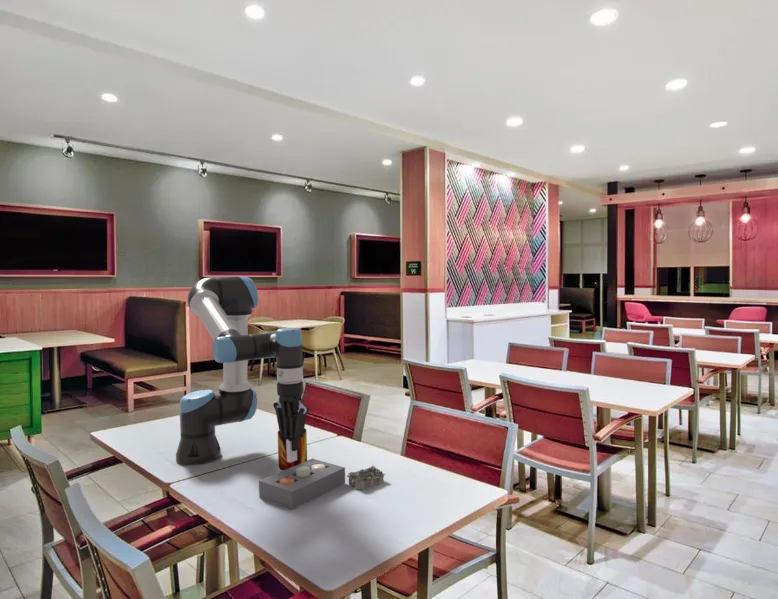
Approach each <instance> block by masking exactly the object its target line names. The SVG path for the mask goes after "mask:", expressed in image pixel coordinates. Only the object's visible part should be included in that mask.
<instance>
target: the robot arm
mask: <svg viewBox="0 0 778 599" xmlns="http://www.w3.org/2000/svg"><path fill="white" fill-rule="evenodd" d="M258 294H259V293H258V289H257V286H256V283H255V282H254V280H253V279H252V278H250V277H247V276H218V277H217V276H215V277H214V276H212V277H211V276H209V277H204V278H202V279H200V280H198V281H197V282H196V283H194V284H193V285H192V286H191V287H190V290H189V292H188V294H187V305H188V307H189V309H190V311H191V312H192V314H194V315H196V316H198V318H199V319H200V321H201V323H202V324H203V325H204V327H205V328H206V330H207V332H208V334H209V335H210V337H211V338H212V339H213V341H212V345H211V348H212V349H211V350H212V351H211V352H212V355H213V360H215V362H217V363H220V364H223V366H222V367H223V371H222V372H223V374H222V375H223V376H222V377H223V378H222V383H221V384H220V385H219V386H218V392H216V393H215V392H214V390H213V389H204V390H203V389H201V390H196V391H195V390H194V391H192V392H189V393H187V394H185V395H183V396H182V397H181V398H180V400H179V410H178V412H179V426H180V429H179V430H180V440H179V442H178V447H177V450H176V453H175V461H176V462H177V463H178V464H181V465H185V466H186V465H188V466H190V465H191V466H192V465H193V466H194V465H200V464H207V463H211V462H213V461H215V460H218V459H219V458H220V457H221V456H222V448H221V445H220V443H219V440H218V438H217V434H216V427H217V426H222V425H227V424H233V423H238V422H239V423H242V422H244V421H248V420H251V419H252V418H253V417H254V416H255V414H256V412H257V408H258V397H257V395H258V394H257V391H256V390H255V389H254V388H253V386H252V384H251V383H250V382H249V381H248V361H250V360H261V359H269V358H270V359H272V358H275V359H276V363H275V364H276V366H275V367H276V380H277V383H276V394H277V396H279V397H278V401H276V402H273V404H272V405H273V408H274V411H275V414H276V420H277V421H276V422H277V425H278V431H279V432H280V435H281V436H282V435H283V436H284V438H285V447H286V449H287V462H290V463H291V462H293V461H296V460H297V450H298V439H299V438H302V437H303V434H304V428H305V426H306V420H307V415H308V412H309V409H310V408H309V406H305V405H304V404H303V400H302V395H303V394H304V382H303V380H304V366H303V342H304V341H303V335H302V330H301V329H300V328H298V327H281V328H278V329H277V330H276V331H266V332H264V333H254V334H252V333H251V334H249V332H248V331H249V330H248V326H249V323H248V320H249V318H250V317H251V316H252V315H253V309H256V308H257V307H258V305H259V304H258V303H259V295H258ZM283 430H284V431H283Z"/></svg>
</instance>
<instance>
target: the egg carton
mask: <svg viewBox="0 0 778 599" xmlns="http://www.w3.org/2000/svg"><path fill="white" fill-rule="evenodd" d="M385 476H386V473H383V471H382V470H381V469H379V468H377V467H376V466H374V465H372V466H370V467H368V468H365V469H363V468H362V469H360V470H357V471H350V472H349V473H348V474H347V475H346V478H348V485H349V487H353V486H354V489H355V490H365V488H366V487H370V488H371V487H374V485H375V484H377V485H382V484H383V482H384V478H385Z"/></svg>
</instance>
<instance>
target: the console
mask: <svg viewBox="0 0 778 599" xmlns="http://www.w3.org/2000/svg"><path fill="white" fill-rule="evenodd" d="M315 464H323V465H325V469H323V470H321V471H315V470H312V468H311V467H312V466H313V465H315ZM303 466H306V467H309V468H310V476H307V477H305V478H300V477H297V476H296V469H297V468H298V467H303ZM286 477H291V478H294V483H292V484H289V485H287V486H286V485H282V484H280V479H282V478H286ZM344 484H346V468H345V466H340V465H337V464H333V463H330V462H327V461H322V460H319V459H315V458H311V459H307V461H305V462H303V463H301V464H298V465H296V466H293V467H291V468H288V469H286V470H284V471H283V470H281V471H279V472H276V473H274V474H272V475H269V476H267V477H264V478H261V479H260V480H258V493H259V494H258V495H259V498H260V499H262V500H265V501H267V502H270V503H273V504H277V505H279V506H282V507H284V508H287V509H290V510H291V511H292V510H293V511H294V510H296V509H297V508H299V507H301V506H303V505H305V504H307V503H309V502H310V501H313V500H316V499H317V498H319V497H321V496H323V495H324V494H327V493H328V492H332V491H333V490H335V489H338V487H340V486H343V485H344Z"/></svg>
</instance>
